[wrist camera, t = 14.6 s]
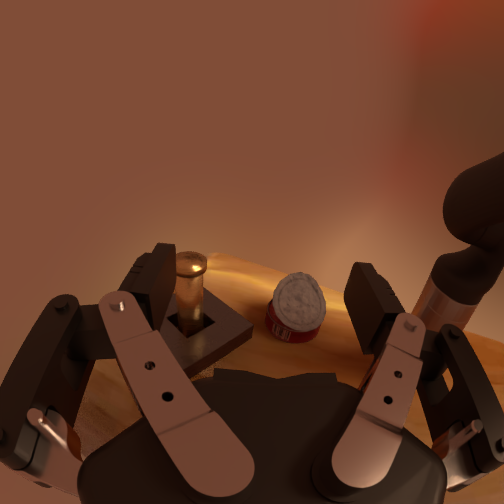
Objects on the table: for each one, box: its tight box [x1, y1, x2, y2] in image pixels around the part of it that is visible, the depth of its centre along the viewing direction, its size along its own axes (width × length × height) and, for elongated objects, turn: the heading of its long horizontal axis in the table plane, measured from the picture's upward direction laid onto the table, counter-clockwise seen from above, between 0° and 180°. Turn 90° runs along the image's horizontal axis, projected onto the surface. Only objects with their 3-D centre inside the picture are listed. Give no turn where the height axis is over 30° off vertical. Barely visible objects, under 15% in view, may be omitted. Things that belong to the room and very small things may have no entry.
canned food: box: [265, 272, 326, 343], centre depth 48 cm, size 11×10×10 cm
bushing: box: [175, 251, 207, 338], centre depth 41 cm, size 5×5×14 cm
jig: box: [159, 287, 254, 379], centre depth 43 cm, size 14×14×3 cm
